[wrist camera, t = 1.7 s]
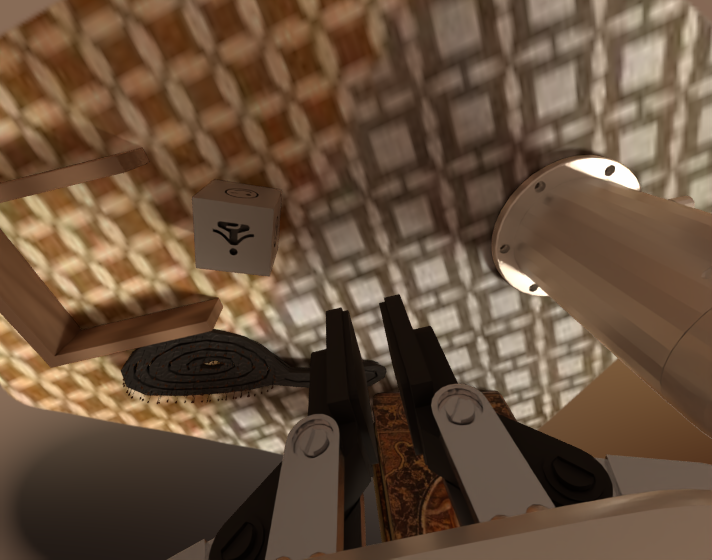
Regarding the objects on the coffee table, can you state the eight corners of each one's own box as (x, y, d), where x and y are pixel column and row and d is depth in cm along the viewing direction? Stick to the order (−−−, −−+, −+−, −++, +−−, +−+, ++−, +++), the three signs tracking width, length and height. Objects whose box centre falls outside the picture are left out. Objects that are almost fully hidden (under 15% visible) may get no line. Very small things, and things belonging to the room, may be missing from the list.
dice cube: (282, 189, 26) (273, 209, 22) (277, 248, 28) (269, 276, 24) (214, 179, 25) (192, 197, 21) (216, 240, 27) (195, 268, 23)
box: (142, 147, 24) (115, 155, 20) (223, 307, 30) (212, 330, 27) (-44, 193, 24) (-97, 208, 21) (77, 340, 31) (51, 367, 28)
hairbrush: (382, 415, 36) (124, 417, 31) (375, 389, 39) (141, 387, 34) (399, 357, 32) (108, 348, 27) (390, 333, 35) (128, 321, 30)
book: (507, 391, 39) (733, 756, 18) (494, 421, 42) (677, 772, 20) (370, 392, 38) (436, 802, 16) (366, 424, 40) (416, 813, 18)
